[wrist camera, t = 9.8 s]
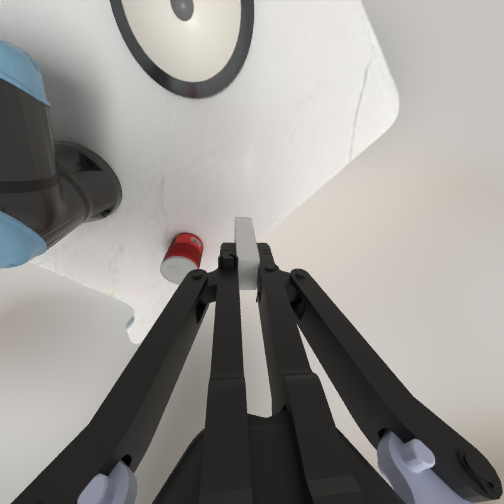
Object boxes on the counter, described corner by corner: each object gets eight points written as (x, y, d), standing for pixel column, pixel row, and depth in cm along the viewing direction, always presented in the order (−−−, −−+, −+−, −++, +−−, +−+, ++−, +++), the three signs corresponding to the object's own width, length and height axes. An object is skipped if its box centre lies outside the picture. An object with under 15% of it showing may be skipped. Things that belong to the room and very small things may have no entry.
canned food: (170, 231, 49) (157, 256, 40) (203, 233, 50) (197, 258, 41) (173, 255, 53) (162, 284, 44) (203, 257, 55) (198, 285, 46)
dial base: (132, 92, 34) (128, 91, 32) (86, -132, 22) (77, -148, 21) (248, 104, 36) (249, 103, 35) (259, -94, 25) (260, -106, 23)
